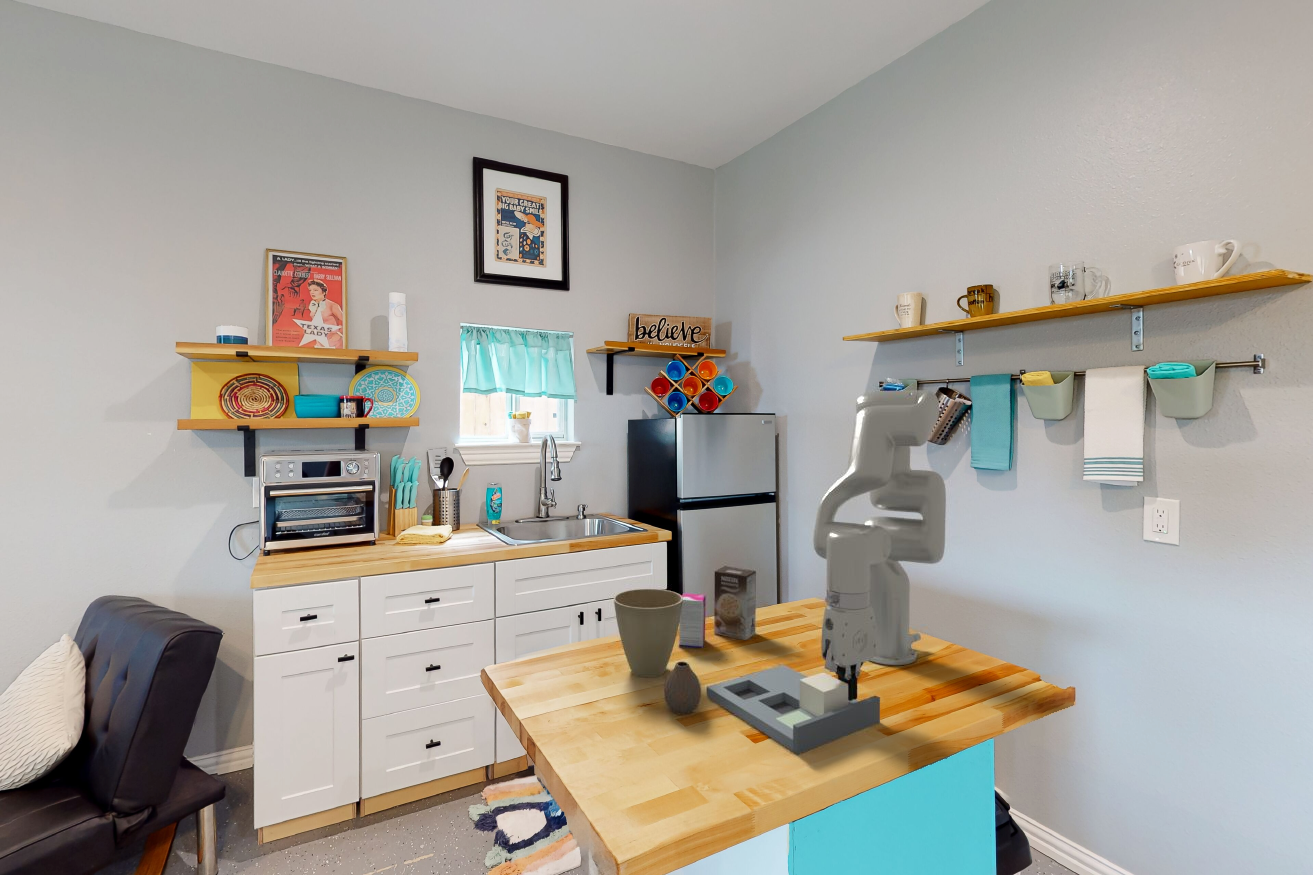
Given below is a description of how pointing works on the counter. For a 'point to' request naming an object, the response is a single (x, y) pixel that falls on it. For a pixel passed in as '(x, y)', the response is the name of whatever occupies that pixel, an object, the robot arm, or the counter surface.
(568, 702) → the counter surface
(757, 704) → the board
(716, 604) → the coffee box
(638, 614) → the plant pot
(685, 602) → the supplement box
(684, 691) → the vase
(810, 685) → the cream block
